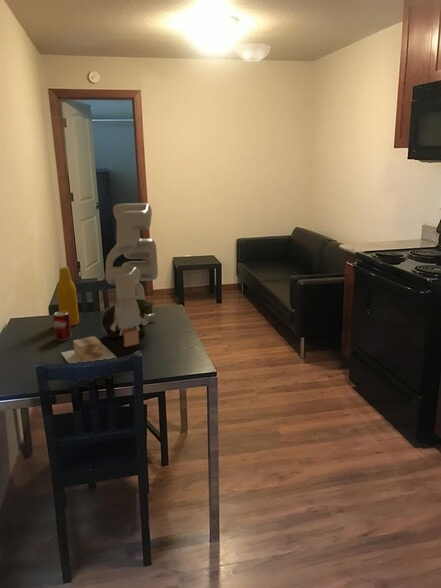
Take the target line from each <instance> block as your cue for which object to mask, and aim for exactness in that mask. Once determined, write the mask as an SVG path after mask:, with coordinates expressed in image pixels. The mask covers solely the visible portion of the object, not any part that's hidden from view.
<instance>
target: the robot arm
mask: <svg viewBox="0 0 441 588" xmlns="http://www.w3.org/2000/svg"><path fill="white" fill-rule="evenodd" d="M112 212H113V216H114V218H115V220H116V244H115V245H114V246H113V248H111V250H110V251H109V252H108V253H107V256H106V260H105V280H106V282H107V283H108V285H115V288H116V289H115V290H116V303H117V304H116V305H115V322H114V323H113V324H112V326H111V327H110V329H111V330H113V331H114V332H116V333H117V334H118V335H119V336H118V342H119V343H120V344H121V345H123V344H124V336H123V334H122V333H123V330H124V329H125V328H129V327H135V328H136V329H137V330H138V336H139V338H140V337H141V336H140V335H141V334H140V335H139V331H140V329H141V328H142V326H143V325H144V327H145V326H147V325H148V324H149V323H150V320H149V319H150V318H151V319H152V318H155V317H156V315H155V313H152V314H150V315H147V314H145V317H144V318H141V317H140V312H139V307H138V304H137V302H136V300H139V299H142V300H145V289H144V286H143V285H142V284H141V282H142V281H154V280H156V279H157V278H158V274H159V269H158V255H157V253H158V252H157V245H156V241H155V240H154V239H153V238H141V237H140V236H141V232H140V231H146V230H149V229H150V227H151V223H152V217H153V216H152V214H153V213H152V207H151V205H150V204H149V203H146V202H142V203H141V202H139V203H138V202H133V203H131V202H128V203H127V202H126V203H125V202H124V203H117V204H115V205H114V206H113V209H112ZM121 255H123V256H124V257H125V259H131V260H133V259H134V260H135V259H136V260H135V261H134V260H133V261H127V262H124V263H123V264H121V266H113V265H114V262H115V260H117V258H119V257H120V256H121ZM138 259H146V260H141V261H140V260H138ZM145 301H146V300H145ZM116 326H118V330H117V329H116V328H115V327H116Z"/></svg>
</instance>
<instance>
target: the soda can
mask: <svg viewBox="0 0 441 588" xmlns="http://www.w3.org/2000/svg"><path fill="white" fill-rule="evenodd" d="M52 319H53V320H52V321H53V329H54V337H55V340H57V341H62V342H63V341H68V340H70V339H71V338H72V335H73V334H72V326H71V324H70V314H69V313H68V312H66V311H61V312H59V311H56V312H54V313H53V315H52Z"/></svg>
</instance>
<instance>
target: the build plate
mask: <svg viewBox="0 0 441 588" xmlns="http://www.w3.org/2000/svg"><path fill="white" fill-rule="evenodd" d="M101 345H102V356H100V357H96V358H92V359H87V360H83V361H80V359H79V358H78V357H77V356H76V355H75V352H74V349H72V350H67V351H63V352H60V355H61V356H62V357H63V358H64V360H65V361H66V362H67V364H68V363H77V362H87V361H95V360H103V359H111V358H117V359H118V357H117V356H116V354H114V353H113V352H112V351H111V350H110V349H109V348H108V347H106V346H105V345H104V344H103V343H101Z"/></svg>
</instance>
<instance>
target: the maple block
mask: <svg viewBox="0 0 441 588" xmlns="http://www.w3.org/2000/svg"><path fill="white" fill-rule="evenodd" d="M72 342H73V350H74V352H75V355H76V356H77V357H78V358H79V359H80V361H83V360H87V359H92V358H96V357H100V356H102V345H101V344H102V341H101V340H99V338H97V337H96V336H95V335H93V336H88V337H83V338H79V339H74V340H73V341H72Z"/></svg>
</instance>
